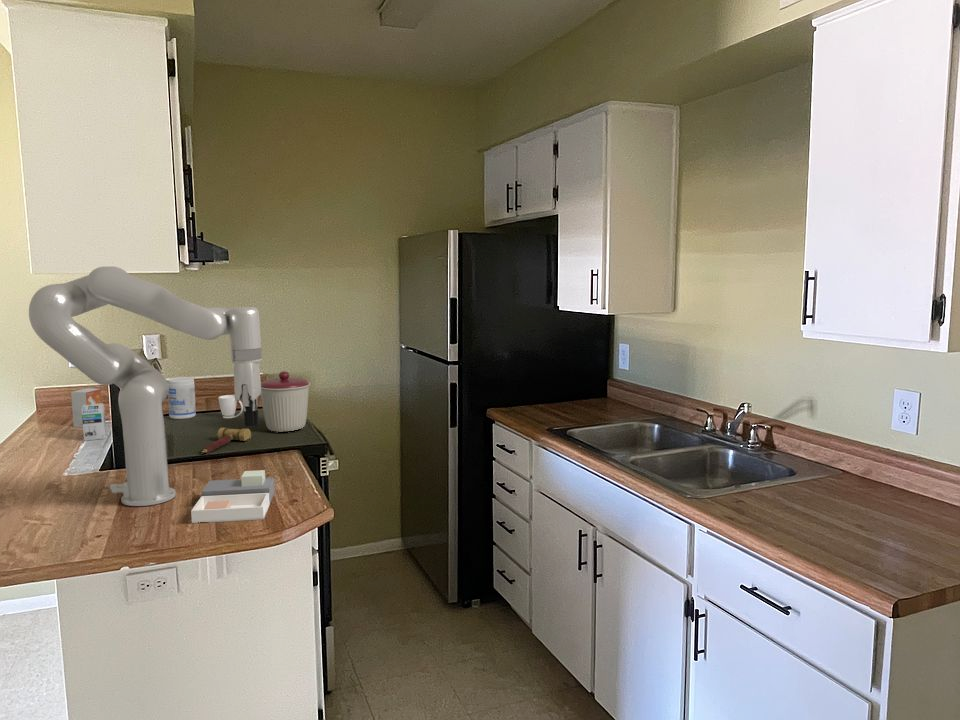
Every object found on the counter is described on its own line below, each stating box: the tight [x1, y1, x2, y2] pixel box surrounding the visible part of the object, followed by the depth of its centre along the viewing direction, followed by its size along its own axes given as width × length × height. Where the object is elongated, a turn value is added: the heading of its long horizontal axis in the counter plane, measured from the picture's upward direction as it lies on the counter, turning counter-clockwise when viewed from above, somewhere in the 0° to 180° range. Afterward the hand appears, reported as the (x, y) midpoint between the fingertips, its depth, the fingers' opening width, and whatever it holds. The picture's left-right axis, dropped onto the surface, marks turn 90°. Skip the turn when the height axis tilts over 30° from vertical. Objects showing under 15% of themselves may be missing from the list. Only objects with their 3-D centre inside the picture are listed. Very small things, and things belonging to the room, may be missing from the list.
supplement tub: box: [167, 377, 197, 420], centre depth 277 cm, size 10×10×15 cm
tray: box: [190, 493, 271, 524], centre depth 172 cm, size 16×10×3 cm, turn 99°
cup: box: [217, 394, 244, 419], centre depth 277 cm, size 7×10×8 cm
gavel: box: [201, 427, 252, 452], centre depth 234 cm, size 21×5×10 cm
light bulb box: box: [81, 402, 107, 442], centre depth 247 cm, size 11×7×11 cm, turn 26°
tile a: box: [204, 501, 230, 509], centre depth 170 cm, size 5×5×2 cm
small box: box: [70, 387, 103, 428], centre depth 265 cm, size 8×6×13 cm
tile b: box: [240, 469, 266, 487], centre depth 182 cm, size 5×5×2 cm
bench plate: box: [201, 476, 276, 504], centre depth 182 cm, size 16×9×4 cm, turn 99°
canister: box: [260, 370, 311, 433], centre depth 255 cm, size 18×18×21 cm
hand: (252, 425), depth 186 cm, fingers closed
